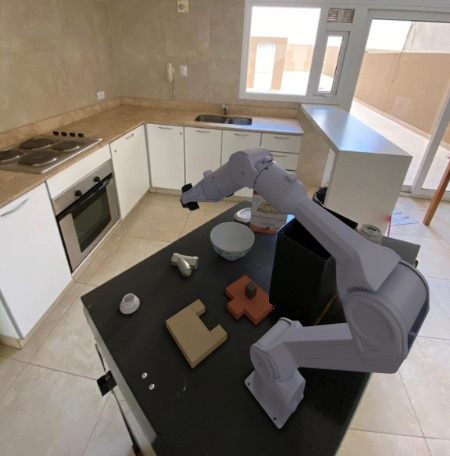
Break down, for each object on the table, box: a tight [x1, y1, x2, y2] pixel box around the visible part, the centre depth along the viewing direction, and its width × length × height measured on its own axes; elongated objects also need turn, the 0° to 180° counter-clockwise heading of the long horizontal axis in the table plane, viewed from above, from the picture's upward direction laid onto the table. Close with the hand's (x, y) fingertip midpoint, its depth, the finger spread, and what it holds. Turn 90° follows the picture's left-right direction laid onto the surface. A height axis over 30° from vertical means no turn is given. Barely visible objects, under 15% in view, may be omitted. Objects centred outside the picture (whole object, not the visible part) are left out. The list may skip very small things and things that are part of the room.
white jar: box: [119, 293, 141, 315], centre depth 68 cm, size 5×3×5 cm
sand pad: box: [165, 298, 228, 369], centre depth 62 cm, size 12×10×2 cm
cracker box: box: [248, 189, 289, 236], centre depth 98 cm, size 14×6×21 cm, turn 81°
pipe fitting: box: [170, 252, 199, 278], centre depth 80 cm, size 8×4×7 cm
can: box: [356, 223, 384, 246], centre depth 87 cm, size 8×8×12 cm
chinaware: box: [209, 221, 255, 261], centre depth 87 cm, size 15×15×8 cm
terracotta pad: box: [225, 274, 276, 326], centre depth 70 cm, size 12×11×6 cm
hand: (196, 198), depth 61 cm, fingers open, 7 cm apart
